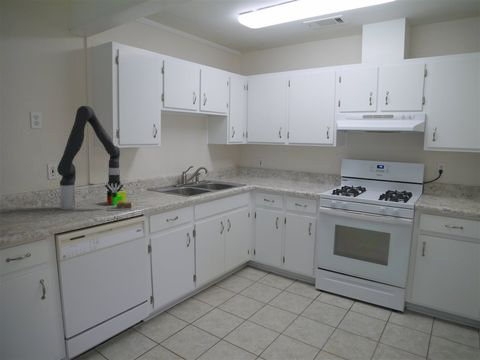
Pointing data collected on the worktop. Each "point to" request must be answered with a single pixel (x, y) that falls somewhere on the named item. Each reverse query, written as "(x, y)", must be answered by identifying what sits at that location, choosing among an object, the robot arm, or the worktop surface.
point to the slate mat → (116, 209)
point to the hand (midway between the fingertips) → (114, 197)
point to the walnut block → (124, 205)
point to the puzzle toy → (119, 197)
